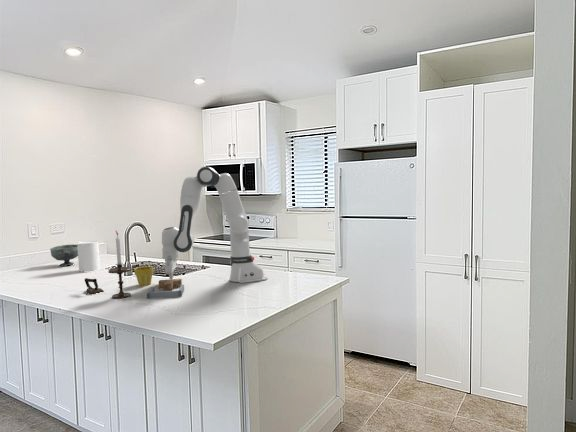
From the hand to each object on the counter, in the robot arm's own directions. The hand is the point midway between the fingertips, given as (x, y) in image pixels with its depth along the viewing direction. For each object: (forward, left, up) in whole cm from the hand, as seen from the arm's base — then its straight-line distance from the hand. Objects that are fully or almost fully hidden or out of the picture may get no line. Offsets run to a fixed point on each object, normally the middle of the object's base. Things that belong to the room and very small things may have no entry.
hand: (171, 278), depth 240 cm
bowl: (+90, -90, -3) cm, 127 cm away
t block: (0, +12, -3) cm, 12 cm away
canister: (+65, -63, -3) cm, 90 cm away
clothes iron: (+41, +7, -3) cm, 42 cm away
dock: (0, +24, -3) cm, 24 cm away
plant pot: (+16, -3, -3) cm, 16 cm away
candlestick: (+23, +22, -3) cm, 32 cm away
